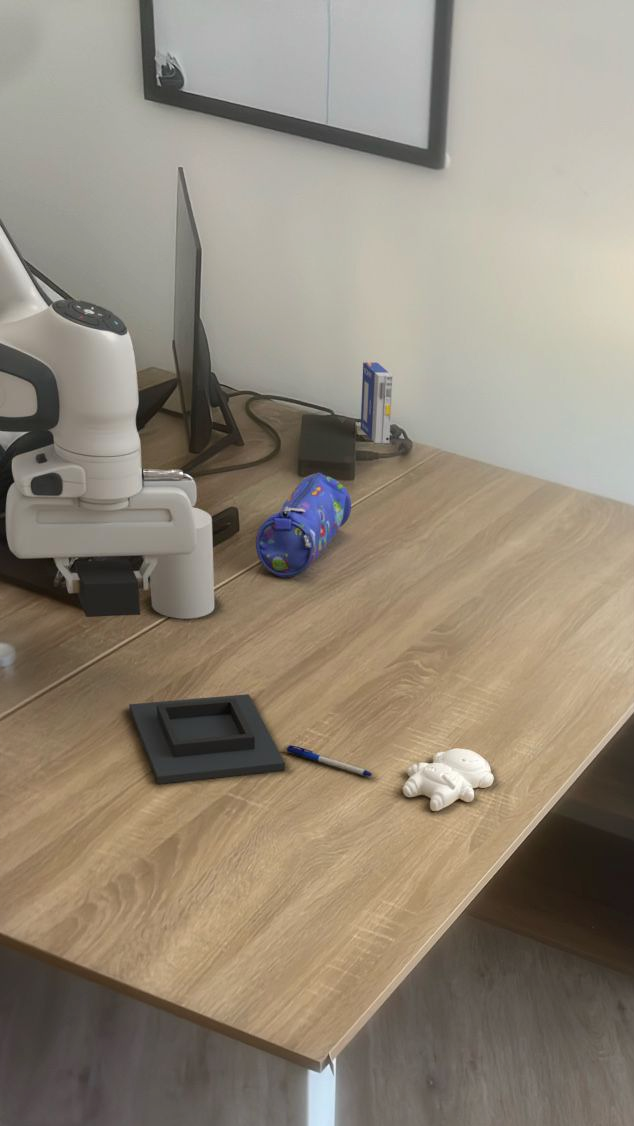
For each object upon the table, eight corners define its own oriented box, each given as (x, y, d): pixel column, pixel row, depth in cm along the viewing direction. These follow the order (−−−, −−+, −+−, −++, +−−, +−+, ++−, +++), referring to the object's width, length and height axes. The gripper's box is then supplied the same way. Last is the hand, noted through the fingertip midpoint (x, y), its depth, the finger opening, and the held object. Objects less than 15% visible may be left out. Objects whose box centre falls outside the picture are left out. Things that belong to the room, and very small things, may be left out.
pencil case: (310, 587, 181) (311, 521, 174) (251, 575, 181) (250, 509, 175) (352, 532, 198) (354, 470, 192) (298, 522, 198) (299, 460, 192)
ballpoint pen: (285, 753, 146) (285, 745, 145) (288, 750, 146) (288, 742, 146) (369, 778, 144) (370, 771, 143) (372, 774, 145) (373, 767, 144)
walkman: (360, 428, 236) (363, 360, 228) (374, 428, 237) (377, 360, 229) (375, 443, 231) (378, 374, 223) (389, 443, 232) (393, 374, 224)
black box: (86, 617, 144) (83, 584, 142) (77, 594, 148) (74, 561, 146) (140, 614, 147) (138, 582, 144) (130, 592, 151) (128, 559, 148)
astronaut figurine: (384, 786, 143) (385, 763, 141) (453, 751, 151) (455, 729, 149) (442, 819, 140) (445, 796, 138) (510, 781, 148) (513, 759, 146)
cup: (196, 588, 175) (193, 502, 168) (225, 612, 171) (223, 524, 163) (141, 597, 171) (135, 509, 163) (169, 622, 166) (164, 533, 159)
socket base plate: (157, 784, 137) (156, 763, 136) (129, 711, 148) (128, 691, 146) (284, 770, 143) (285, 750, 141) (248, 701, 154) (248, 681, 152)
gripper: (189, 459, 144) (192, 575, 153) (-4, 458, 136) (10, 581, 144) (202, 480, 140) (204, 598, 148) (3, 480, 131) (17, 605, 140)
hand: (107, 590), depth 146 cm, fingers closed on black box, 6 cm apart
